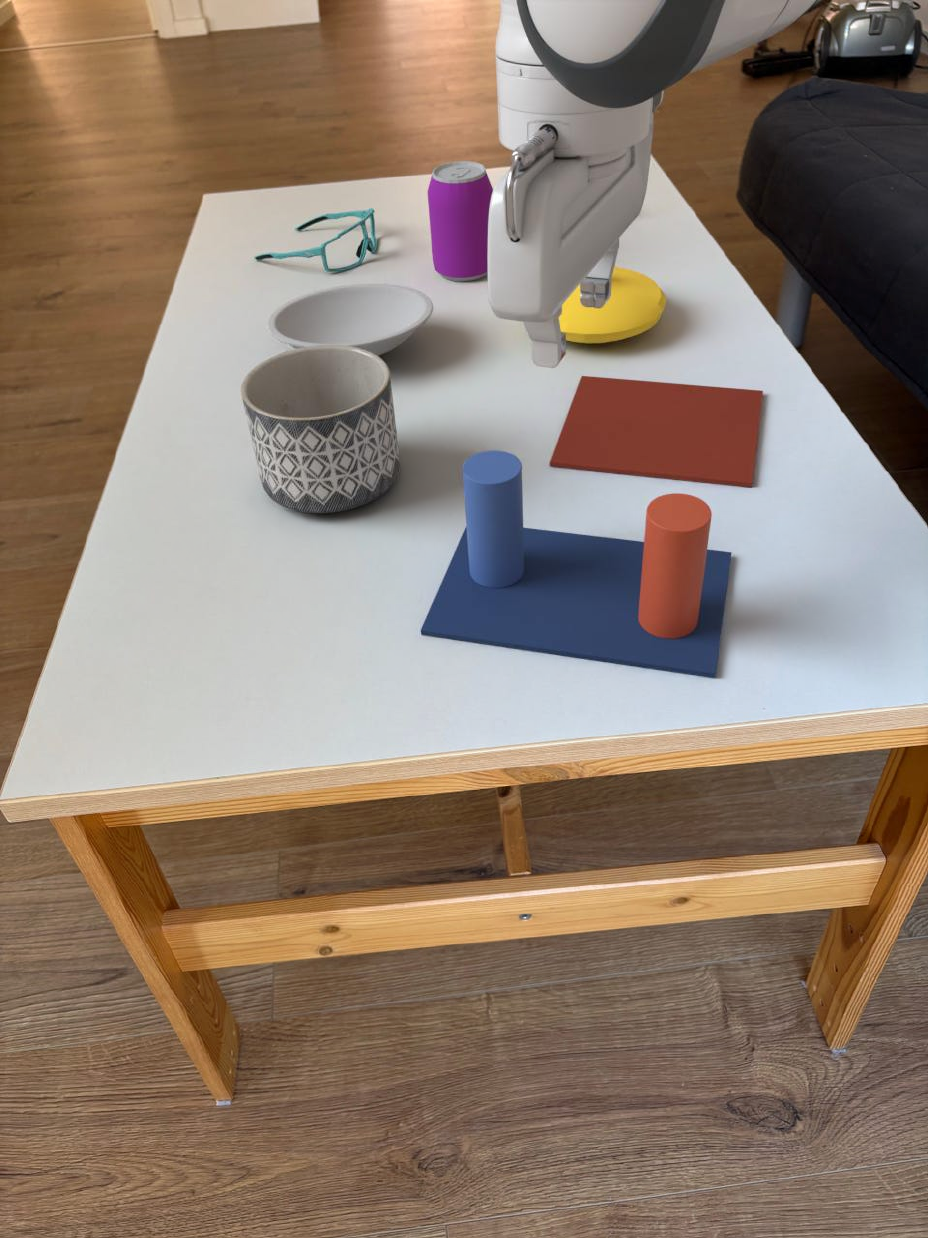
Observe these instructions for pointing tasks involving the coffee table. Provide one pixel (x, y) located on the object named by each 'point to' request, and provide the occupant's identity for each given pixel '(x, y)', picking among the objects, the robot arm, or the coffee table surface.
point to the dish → (352, 317)
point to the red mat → (661, 431)
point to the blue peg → (494, 518)
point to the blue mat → (578, 605)
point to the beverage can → (460, 220)
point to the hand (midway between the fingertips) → (573, 331)
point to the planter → (323, 427)
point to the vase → (614, 310)
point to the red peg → (673, 564)
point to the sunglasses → (361, 251)
